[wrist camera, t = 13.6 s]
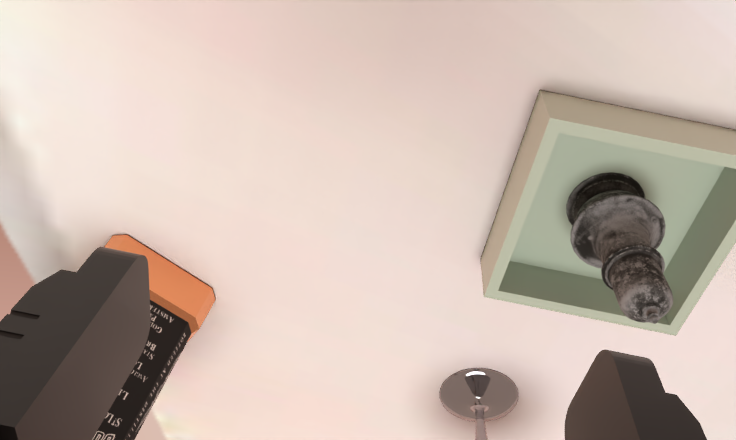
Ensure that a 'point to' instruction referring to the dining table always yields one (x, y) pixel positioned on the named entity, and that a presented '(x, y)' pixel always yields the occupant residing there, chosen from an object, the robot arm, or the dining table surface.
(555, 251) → the caddy
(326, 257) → the dining table surface
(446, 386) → the wine glass
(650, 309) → the salt shaker
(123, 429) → the whiskey bottle
